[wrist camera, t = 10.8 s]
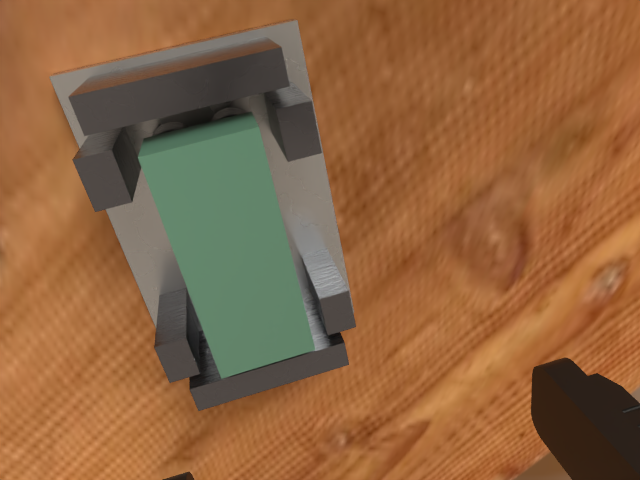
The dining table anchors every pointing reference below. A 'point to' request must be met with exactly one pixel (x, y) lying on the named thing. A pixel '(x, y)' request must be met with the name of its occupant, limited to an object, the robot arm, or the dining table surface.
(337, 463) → the dining table surface
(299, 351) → the green block
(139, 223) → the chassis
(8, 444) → the dining table surface
